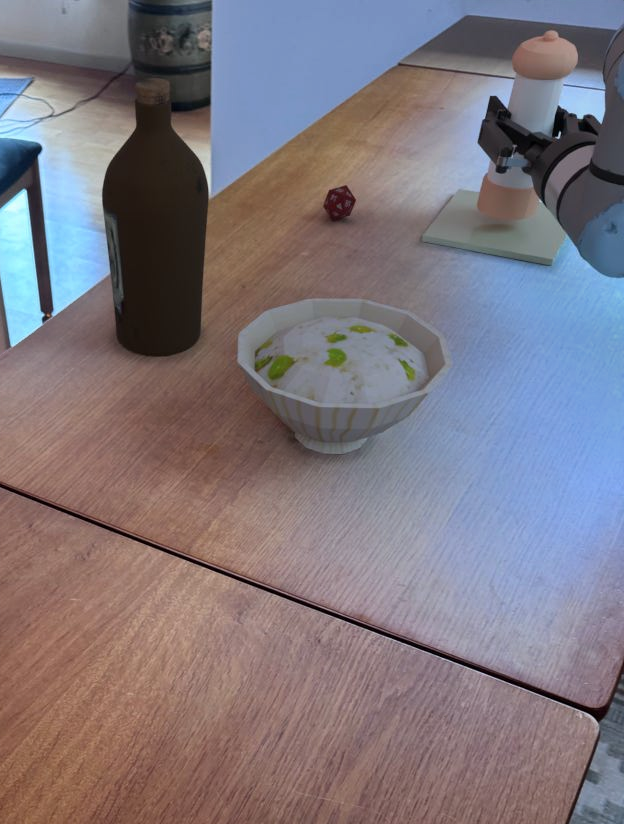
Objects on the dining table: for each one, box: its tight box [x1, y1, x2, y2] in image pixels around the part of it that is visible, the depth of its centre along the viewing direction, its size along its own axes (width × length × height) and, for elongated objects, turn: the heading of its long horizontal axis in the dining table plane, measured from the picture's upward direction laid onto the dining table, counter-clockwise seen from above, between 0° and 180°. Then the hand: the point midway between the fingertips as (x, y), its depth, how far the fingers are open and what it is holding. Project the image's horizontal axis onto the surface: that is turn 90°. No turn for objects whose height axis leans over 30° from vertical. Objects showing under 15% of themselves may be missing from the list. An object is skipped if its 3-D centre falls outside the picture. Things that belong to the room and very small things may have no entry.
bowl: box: [237, 297, 454, 455], centre depth 84 cm, size 19×19×10 cm
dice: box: [322, 184, 357, 222], centre depth 119 cm, size 4×4×4 cm
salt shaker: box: [477, 29, 579, 220], centre depth 108 cm, size 7×7×19 cm
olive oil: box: [101, 77, 210, 357], centre depth 92 cm, size 11×11×25 cm
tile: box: [421, 188, 569, 267], centre depth 116 cm, size 16×16×1 cm
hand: (515, 107), depth 111 cm, fingers closed on salt shaker, 5 cm apart
